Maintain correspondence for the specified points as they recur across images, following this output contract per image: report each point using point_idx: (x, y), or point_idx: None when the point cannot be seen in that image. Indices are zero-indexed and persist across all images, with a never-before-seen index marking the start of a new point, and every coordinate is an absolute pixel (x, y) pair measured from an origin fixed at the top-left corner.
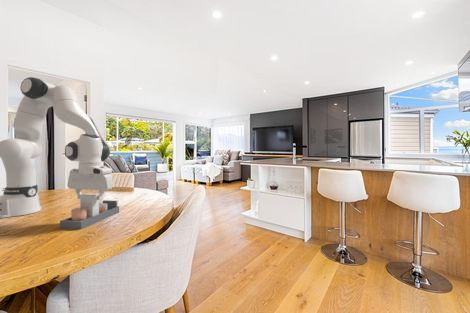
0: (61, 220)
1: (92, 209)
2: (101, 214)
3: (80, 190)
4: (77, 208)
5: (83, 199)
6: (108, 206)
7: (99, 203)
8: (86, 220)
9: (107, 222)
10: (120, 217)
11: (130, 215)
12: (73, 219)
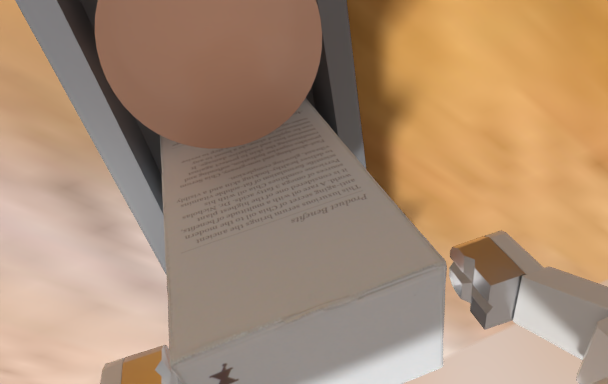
0: None
1: (163, 194)
2: (143, 227)
3: (586, 365)
4: (274, 59)
5: (342, 235)
6: None
7: None
8: (18, 1)
9: (85, 202)
10: (127, 312)
11: (103, 367)
12: None
